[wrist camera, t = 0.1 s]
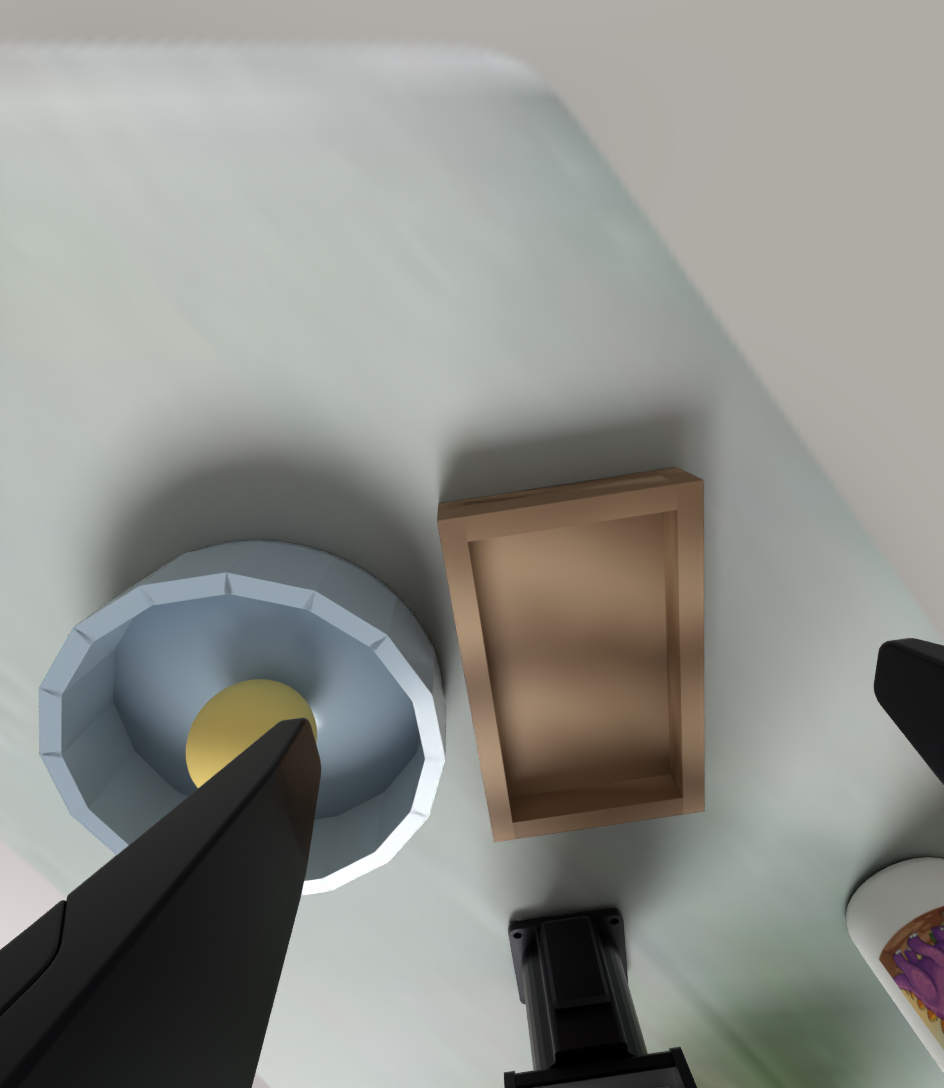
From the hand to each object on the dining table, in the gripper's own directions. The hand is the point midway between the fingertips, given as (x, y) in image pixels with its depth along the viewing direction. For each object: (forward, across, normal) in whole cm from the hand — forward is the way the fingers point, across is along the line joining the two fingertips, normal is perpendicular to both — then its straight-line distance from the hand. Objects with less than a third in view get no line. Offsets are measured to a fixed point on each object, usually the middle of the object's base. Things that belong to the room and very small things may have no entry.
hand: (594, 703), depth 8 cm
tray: (+15, -2, +8) cm, 17 cm away
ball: (+14, +12, +8) cm, 20 cm away
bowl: (+15, +12, +8) cm, 20 cm away
